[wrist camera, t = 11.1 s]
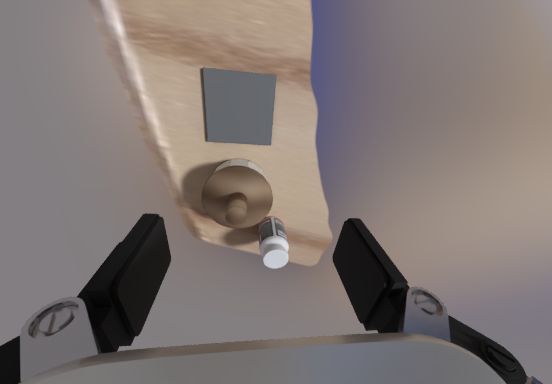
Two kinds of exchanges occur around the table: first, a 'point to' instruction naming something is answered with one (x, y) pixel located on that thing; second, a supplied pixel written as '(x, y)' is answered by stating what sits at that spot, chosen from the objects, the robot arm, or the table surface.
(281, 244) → the pill bottle
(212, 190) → the lid
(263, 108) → the mat
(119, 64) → the table surface
